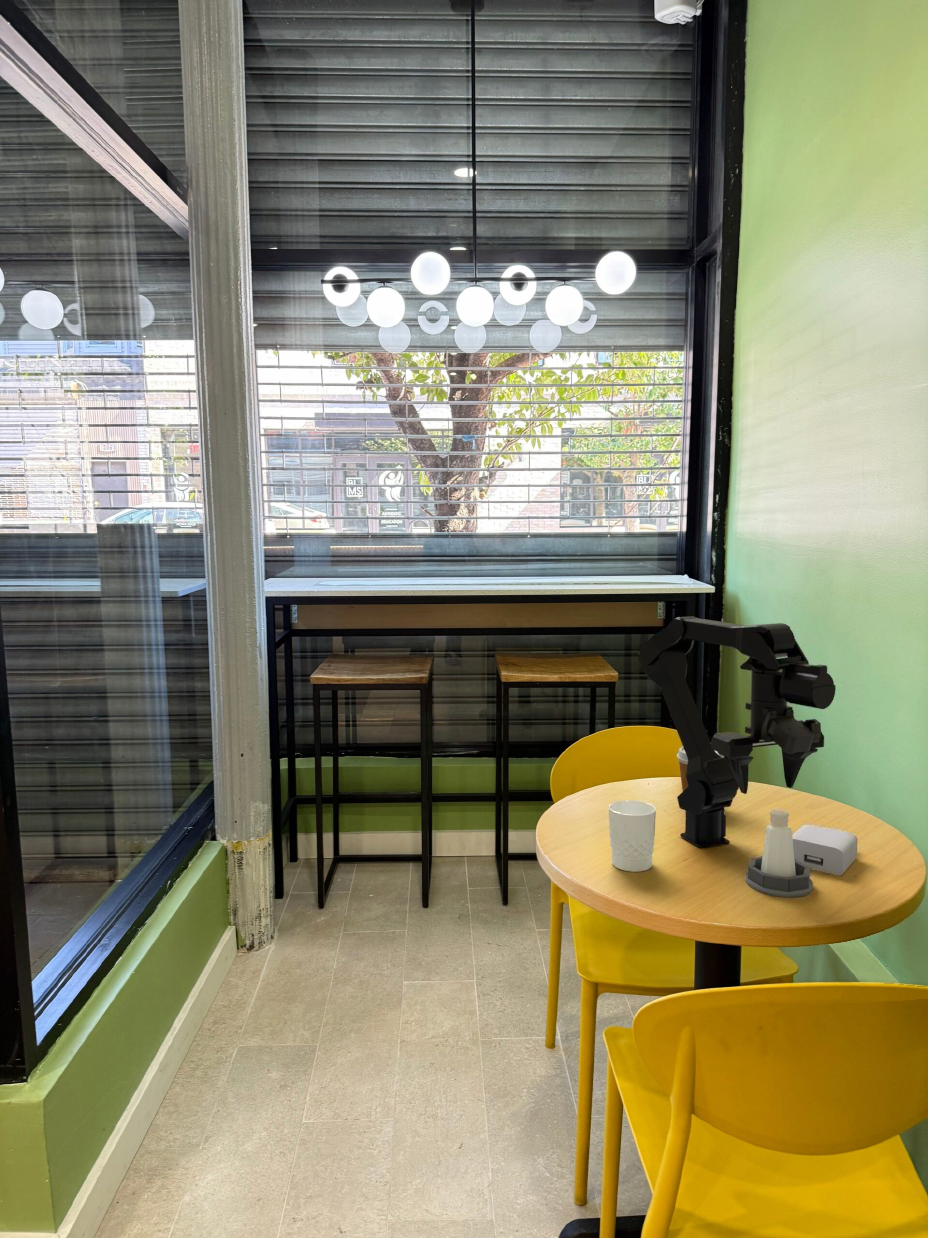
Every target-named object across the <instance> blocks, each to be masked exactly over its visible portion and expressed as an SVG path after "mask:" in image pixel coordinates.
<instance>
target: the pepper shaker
mask: <svg viewBox="0 0 928 1238" xmlns="http://www.w3.org/2000/svg"><path fill="white" fill-rule="evenodd" d="M769 813H770V814H769V815H770V819H769V820H770V823H769V824H768V825H766V830H765V837H764V843H763V850H762V851H763V852H762V856H763V857H762V864H761V871H762V872H764V873H766V874H770V875H776V876H782V877H792V876H796V871H795V860H794V848H793V837H792V835H793V830H792V828H791V827H789V816H790V814H789V812H788V811H785V810H783V809H773V810H771V811H770V812H769Z"/></svg>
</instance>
